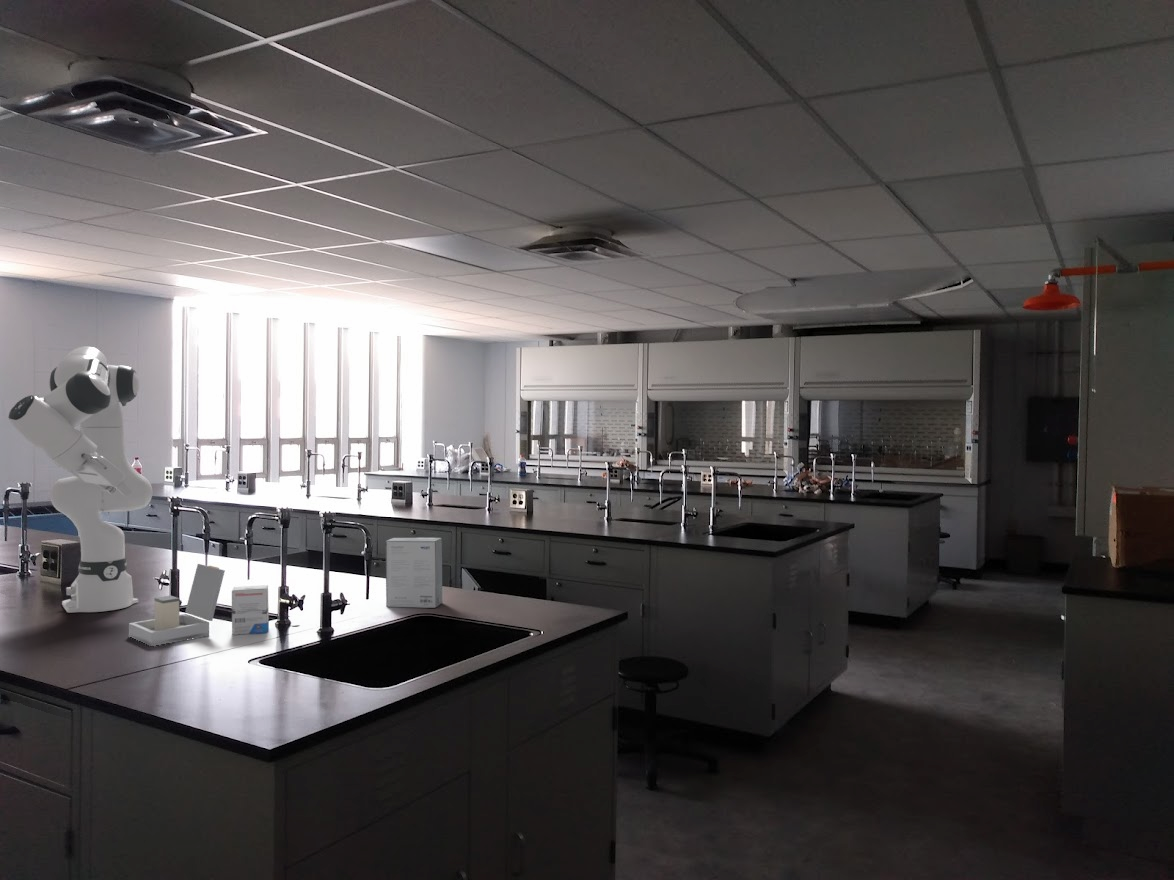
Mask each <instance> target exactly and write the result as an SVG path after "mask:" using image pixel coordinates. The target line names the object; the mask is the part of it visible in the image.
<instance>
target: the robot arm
mask: <svg viewBox="0 0 1174 880" xmlns="http://www.w3.org/2000/svg"><path fill="white" fill-rule="evenodd" d="M48 380H49V381H48V386H49V389H50V392H48V393H47V394H46V395H43V396H41V397H37V396H36V395H34V394H33V395H28V396H25V397H23V398H22V399H20V400H18V401H17V402H16V403H15V405H14V406H13V407H12V408H11V409H10V411H9V413H8V420H9V421H10V423H11V424H12V426H13V427H14V429H16V431H18V432H19V433H20V434H21V435H22V436H23V437H24V438H25V439H26V440H27V441H28V442H29V443H31V444H32V445H33V446H34V447H37V449H40V450H42V451H43V452H44V453H45V454H46V456H47V458H48V459H50V460H51V461H52V462H53V463H54V464H55V465H56V466H57V467H59V468H61V470H63V471H64V472H65V473H71V474H72V476H69V477H63V478H59V479H58V480H56V481H55V482H54V483H53V485H52V487H51V489H50V493H49V499H50V502H51V504H52V506H53V507H54V508H55V510H56V511H58V512H59V513H61V514H62V515H64V516H66V517H67V518H69V520H70V521H71V522H72V523H73V525H74V527H75V528H76V531H77V532H78V535H79V542H80V555H81V556H80V561H79V565H78V571H77V572H78V575H77V577H76V578H75V579H74V581H73V582H72V583H71V584H70V586H69V587H68V586H66V587H65V591H66V592H65V593H66V596H70V598H69V599H65V600H62V601H61V605H62V607H63V609H64V611H66V613H70V614H71V613H98V612H99V613H100V612H108V611H109V612H110V611H116V610H120V609H124V608H128V607H130V606H132V605H134V604H137V603H139V598H135V597H134V591H133V578H132V575H130V574H129V573H128V572H127V571H126V570H127V568H128V567H127V565H128V562H127V558H126V557H125V554H126V553H125V552H126V549H125V547H126V544H125V541H126V540H125V539H126V537H125V532H124V531H123V530H122V529H121V528H120V527H118V526H117V525H114V524H112V523H109V522H106V521H104V520H103V519H101V517H100V514H102V513H113V512H114V513H115V512H116V513H117V512H118V513H119V512H131V511H135V510H140V509H144V508H146V507H147V506H148V505H149V504H150V503H151V501H152V498H153V495H154V493H153V486H152V483H151V482H150V481H149V479H148V478H147V477H145V476H144V475H143V474H141V473H140V472H139V471H137V470H136V469H135V467H133V466H132V464H131V463H130V460H129V459H128V456H127V453H126V447H125V431H124V429H125V425H124V424H125V423H124V413H123V412H124V411H123V407H125V406H127V403H130V402H132V401H133V400H134V399H135V398H136V397H137V394H138V392H139V389H140V380H139V377H138V374H137V371H136V370H135V369H134V368H133V367H131V366H127V365H123V364H119V365H116V364H115V365H114V364H108V359H107V357H106V355H105V354H104V353H103V352H102V351H101V350H99V348H97V347H94V346H93V347H92V346H89V345H87V346H85V345H84V346H79V347H77V348H74V349H72V350H71V351H70V352H69V353H67V354H66V355H65V356H64V357H63V358H62V359H61V361H60V362H59V363H58V364H57V366H56V367H55V368H54V369H52V371H51V373H50V376H49V379H48ZM77 426H80V427H79V428H80V429H77V428H76V427H77ZM73 475H74V476H73Z"/></svg>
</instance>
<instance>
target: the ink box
mask: <svg viewBox="0 0 1174 880" xmlns="http://www.w3.org/2000/svg"><path fill="white" fill-rule="evenodd" d="M269 619H270V618H269V585H268V584H264V585H248V586H246V585H245V586H244V585H243V586H234V587H233V589H232V590H231V635H233V636H234V635H236V636H237V635H239V634H240V635H253V633H256V634H267V633H268V631H269V629H270V628H269V626H270V625H269ZM266 632H267V633H266Z"/></svg>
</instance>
